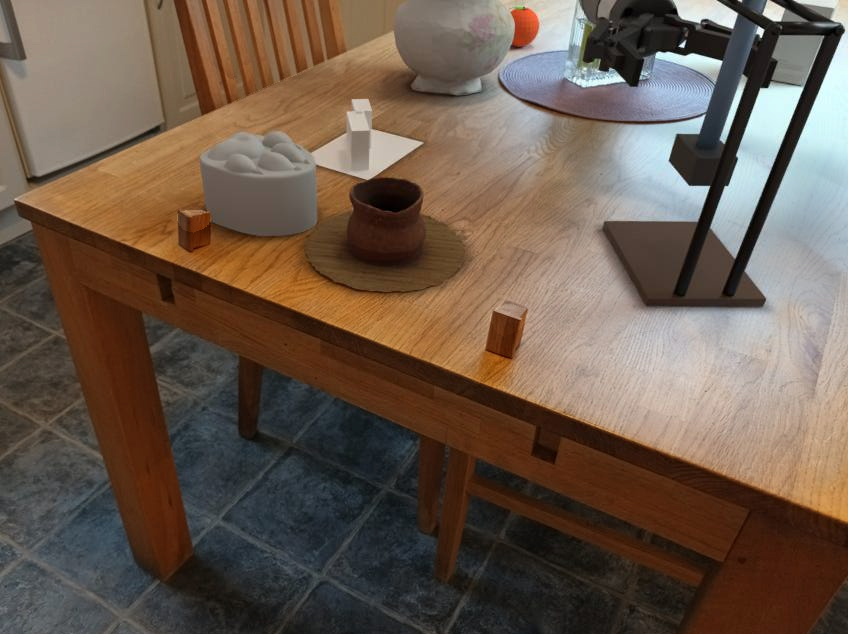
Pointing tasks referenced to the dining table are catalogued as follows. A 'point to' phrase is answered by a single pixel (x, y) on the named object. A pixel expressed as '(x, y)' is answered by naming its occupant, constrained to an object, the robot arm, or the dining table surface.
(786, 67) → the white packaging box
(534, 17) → the clementine
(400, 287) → the ceramic pot
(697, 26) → the robot arm
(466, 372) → the dining table surface
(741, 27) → the brush
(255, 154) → the lumpy-topped squat cylinder
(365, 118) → the napkin holder
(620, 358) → the dining table surface
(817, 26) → the desk lamp
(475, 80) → the grey round vase
